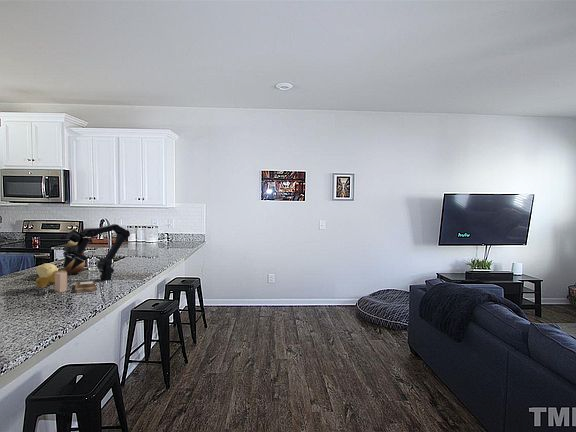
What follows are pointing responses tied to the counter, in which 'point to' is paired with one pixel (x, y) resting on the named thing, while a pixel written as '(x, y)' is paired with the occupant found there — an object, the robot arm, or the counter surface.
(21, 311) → the counter surface
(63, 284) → the clay bar
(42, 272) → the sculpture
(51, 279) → the decorative fish
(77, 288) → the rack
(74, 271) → the butternut squash
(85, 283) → the clay tile
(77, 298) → the counter surface
